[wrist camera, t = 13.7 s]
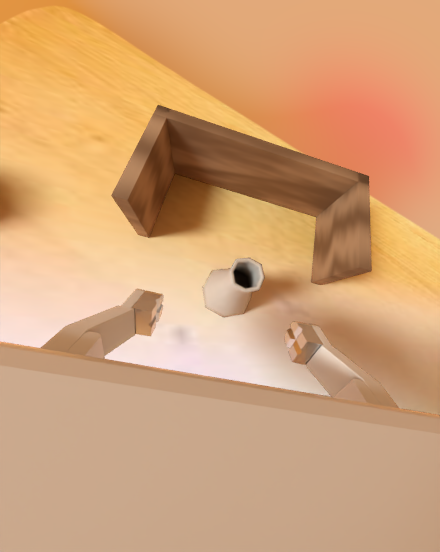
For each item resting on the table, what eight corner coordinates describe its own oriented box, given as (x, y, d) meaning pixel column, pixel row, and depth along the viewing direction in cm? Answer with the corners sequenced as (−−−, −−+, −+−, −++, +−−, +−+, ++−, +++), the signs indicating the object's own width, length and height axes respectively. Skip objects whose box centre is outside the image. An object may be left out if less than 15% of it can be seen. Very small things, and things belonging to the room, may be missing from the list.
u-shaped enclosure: (320, 284, 26) (371, 271, 19) (138, 234, 24) (111, 195, 16) (324, 212, 30) (368, 176, 23) (168, 163, 28) (157, 104, 20)
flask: (206, 264, 25) (213, 229, 15) (253, 273, 25) (288, 245, 16) (197, 312, 23) (198, 308, 13) (248, 321, 23) (284, 323, 14)
